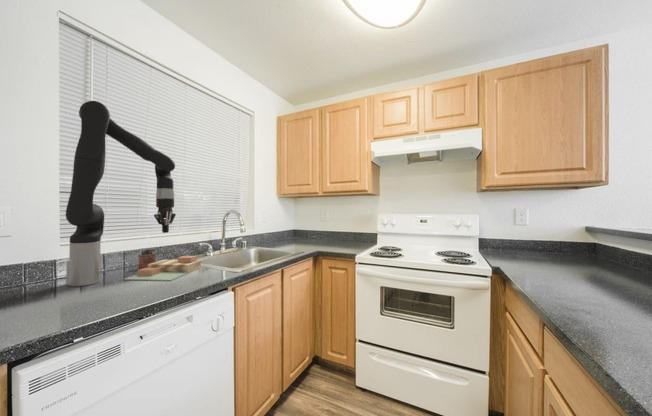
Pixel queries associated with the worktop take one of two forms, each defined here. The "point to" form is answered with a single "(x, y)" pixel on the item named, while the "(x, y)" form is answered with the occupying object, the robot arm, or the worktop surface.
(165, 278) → the mat
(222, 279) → the worktop surface
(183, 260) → the tile
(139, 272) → the tile
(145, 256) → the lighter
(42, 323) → the worktop surface
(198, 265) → the wooden tray
